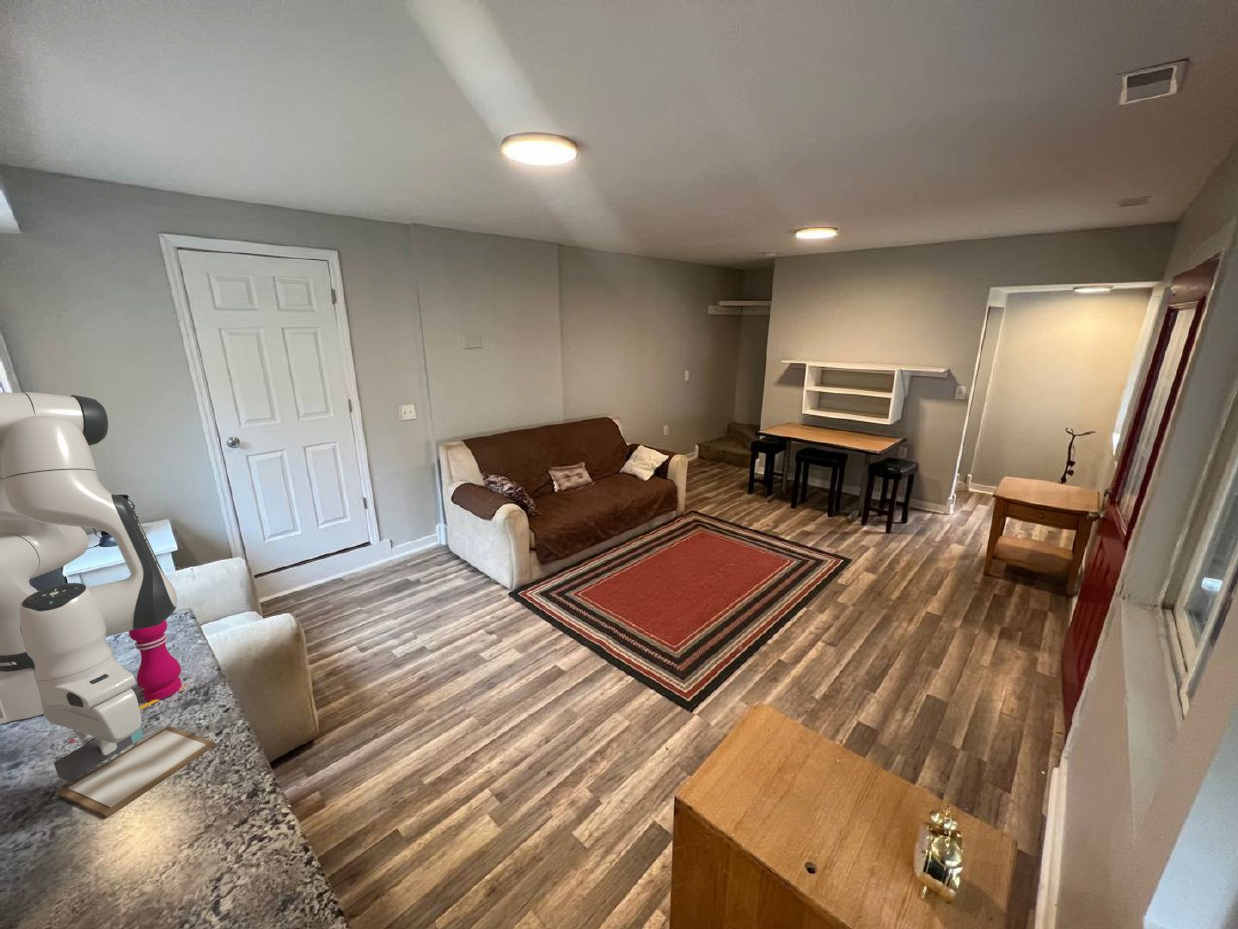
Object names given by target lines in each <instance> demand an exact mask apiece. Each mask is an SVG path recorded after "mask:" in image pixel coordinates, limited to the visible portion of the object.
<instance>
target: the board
mask: <svg viewBox="0 0 1238 929" xmlns="http://www.w3.org/2000/svg"><path fill="white" fill-rule="evenodd" d="M215 746H216V742H215V741H212V740H209V739H206V738H203V737H201V736H197V735H195V734H192V733H189V732H187V731H183V730H181V729H177V728H175V727H171V726H169V725H168V726H167V727H165V728H163V729H162V730H160V731H158V732H156V733H155V734H153V735H151V736H149V737H148V738H146V739H145V740H143V741H141V742H140V743H138V744H136V745H135V746H133V747H130V749H128V750H126V751H124V752H122V753H121V754H119V755H117V756H116V757H114V758H113V759H111V760H109V761H108V762H106V763H104V764H102V765H100V766H99V767H97V768H96V769H94V770H92V771H90V772H89V773H87V774H85V775H84V776H81V777H80V778H79V779H76V780H75V781H74V782H73V781H72V783H70V784H68V785H66V786H65V787H63V788H62V789H60V790H58V791H56V793H57V795H58V796H59V797H61V798H64V799H66V800H68V801H71V802H72V803H74V804H76V805H79V806H80V807H83V808H84V809H86V810H89V811H91V812H94V813H95V814H98V815H100V816H101V817H104V818H106V819H108V818H109V817H112V815H114V814H115V813H117V812H118V811H120V810H121V809H123V808H124V807H126V806H127V805H129V804H131V802H133V801H135V800H136V799H138V798H140V796H142V795H144V794H145V793H147V792H148V791H150V790H151V789H152V788H154V787H156V786H157V785H158V784H160V783H162V782H163V781H165V780H166V779H167V778H169V777H170V776H172V775H173V774H175V773H176V772H178V771H179V770H181V769H182V768H184V767H186V766H187V765H188V764H190V763H191V762H193V761H194V760H196V759H197V758H199V757H200V756H202V755H203V754H205V753H206V752H209V751H210V749H212V748H214V747H215Z"/></svg>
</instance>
